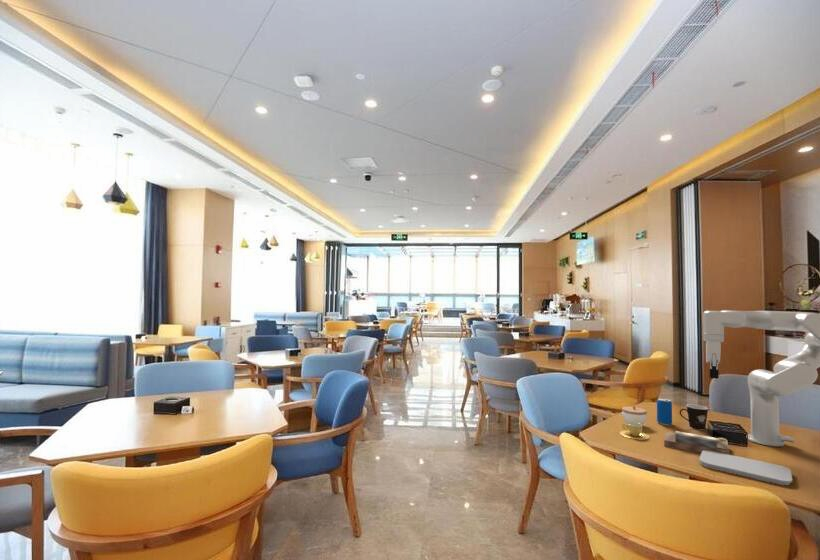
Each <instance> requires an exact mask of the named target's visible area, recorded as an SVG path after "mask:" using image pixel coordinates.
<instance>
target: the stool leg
mask: <svg viewBox="0 0 820 560" xmlns="http://www.w3.org/2000/svg"><path fill="white" fill-rule="evenodd" d="M675 433H676V434H681V435H686V436H692V437H698V438H703V439H709V440H715V441H717V448H722V449H728V447H729V444H728V440H727V438H724V437H712V436H708V435H703V434H701V435H700V434H695V433H689V432H684V431H679V430H675Z"/></svg>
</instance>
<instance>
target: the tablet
mask: <svg viewBox="0 0 820 560" xmlns="http://www.w3.org/2000/svg"><path fill="white" fill-rule="evenodd" d="M698 460H699V462H700V463H701V466H703V467H705V468H707V469H712V470H716V471H719V470H720V472H724V471H725V472H724V473H728V472H730V473H729V474H732V473H735V474H734V475H736V474H738V475H737V476H741V475H742V477H745V476H746V477H745V478H749V477H750V479H753V478H754V479H755V480H758V481H762V482H767V483H770V482H773V483H772V484H775V483H777V484H776V485H779V484H780V486H784V485H789V486H790V484H791V483H793V475H792V471H791V469H790V468H788V467H786V466H783V465H779V464H775V463H772V462H766V461H761V460H757V459H751V458H746V457H741V456H738V455H737V456H736V455H734V454H733V455H732V454H730V455H729V454H724V453H719V452H715V451H709V450H703V451H702V453H700V456H699V459H698Z"/></svg>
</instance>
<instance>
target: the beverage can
mask: <svg viewBox="0 0 820 560" xmlns="http://www.w3.org/2000/svg"><path fill="white" fill-rule="evenodd" d="M656 422H657V423H658V424H659V423H660V425H662V424H663V425H664V426H671V425H672V424H673V403H672V399H669V398H664V397H663V398H662V397H660V398H657V400H656Z"/></svg>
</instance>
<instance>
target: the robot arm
mask: <svg viewBox="0 0 820 560" xmlns="http://www.w3.org/2000/svg"><path fill="white" fill-rule="evenodd" d="M702 319H703V320H702V327H703V328H702V331H703V332H702V333H703V334H702V335H703V338H702V339H703V341H705V362H706V363H707V364H708V363H709V378H710V379H715V380H717V379H718V380H719V368H718V367H719V364H720V363H721V352H722V351H721V348H722V347H721V343H723V342H724V341H725V336H724V335H725V331H724V330H725V327H729V328H752V329H759V330H767V331H787V332H790V331H791V332H805V333H807V334H806V335H805V337H804V344H803V348H802V349H801V350H800V351H799V352H797V353H795V354H793V355H791V356H789V357H786V358H784V359H781V360H780V361H778V362H777V363H775V364H774V365H773V367H772V368H773V371H771V370H767V369H761V368H760V369H754V370H751V371H750V372H749V374H748V376H747V384H748V385H747V386H748V390H749V398H750V401H749V402H750V433H749V434H747V435H748V439H747V440H748V441H750V442H753V443H755V444H759V445H764V446H769V447H777V448H778V447H784V446H785V442H789V443H793V444H794V443H795V438H794V437H790V436H789V435H787V436H786V435H782V434H781V433H780V405H779V397H785V396H788V395H791V394H793V393H796V392H799V391H800V390H802V389H804V388H808V387H809V386H811V385H813V384H814V382H816V381H817V379H818V376H819V374H818V371H817V370H818V368H820V314H818V313H815V312H807V311H786V310H785V311H783V310H782V311H781V310H729V309H723V310H705V311H703V313H702Z"/></svg>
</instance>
